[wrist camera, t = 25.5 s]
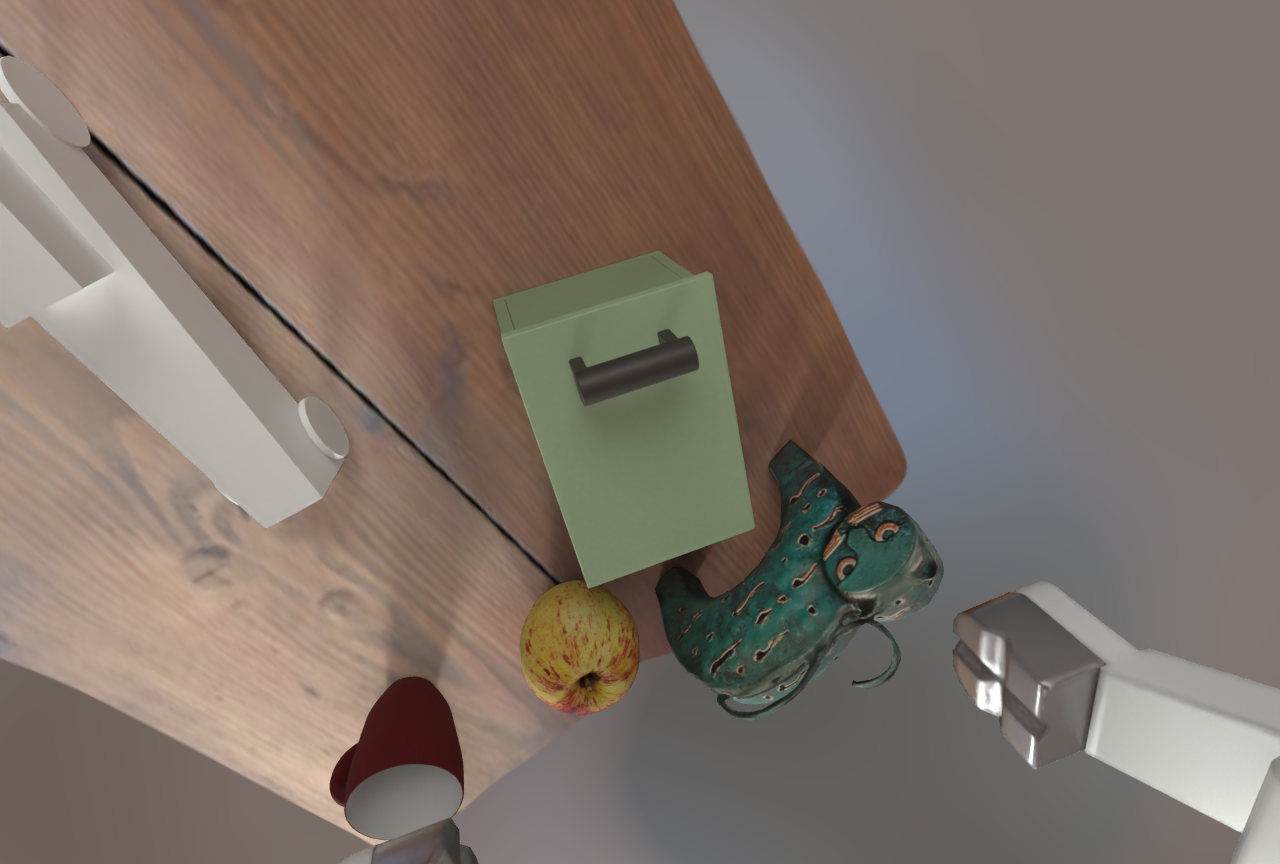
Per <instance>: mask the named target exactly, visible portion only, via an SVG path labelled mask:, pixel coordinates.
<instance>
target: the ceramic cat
mask: <svg viewBox="0 0 1280 864" xmlns="http://www.w3.org/2000/svg"><path fill="white" fill-rule="evenodd" d="M769 468H770V471H771V472H772V474H773V475H774V477H775V478H776V481H777V483H778V486H779V489H780V492H781V524H780V530H779V533H778V535H777V537H776V539H775V541H774V543H773V544H772V546H771V547H770V549H769V550H768V552H767V553H766V555H765V556H764V558H763V559H762V561H761V562H760V563H759V565H758V566H757V567H756V568H755V569H754V570H753V571H752V572H751V573H750V574H749V575H748V576H747V577H746V578H745V579H744V581H742V582H741V583H740V584H739V585H737V586H736V587H734V588H733V589H731V590H730V591H728V592H726V593H724V594H722V595H720V596H718V597H714V598H713V597H710V596H708V594H707V593H706V591H705V589H704V588H703V586H702V583H701V581H700V580H699V579H698V578H697V577H695V576H694V575H692V574H691V573H689V572H688V571H686V570H684V569H682V568H676V567H674V568H672V569H671V570H670V571H668V572H667V573H666V574H665V575H664V576H663V577H662V578H661V580H660V581H659V583H658V584H657V586H656V588H655V590H656V593H657V597H658V601H659V604H660V608H661V614H662V618H663V623H664V628H665V633H666V638H667V640H668V642H669V644H670V645H671V648H672V651H673V653H674V655H675V656H676V658H677V660H678V662H679V663H680V665H681V666H682V667H683V668H684V670H686V672H687V673H688V674H690V675H692V676H694V677H695V678H697V679H699V680H700V681H701V682H702V683H704V684H705V685H707V686H708V687H710V688H711V690H712V691H713V692H715V693H717V694H718V697H717V702H718V703H719V704H720V705H721V706H722V707H723V708H724V709H725V710H726V711H727V712H728V713H730V714H731V715H733V716H735V717H737V718H741V719H744V720H757V719H759V718H762V717H764V716H767V715H769V714H771V713H773V712H774V711H776V710H778V709H779V708H781V707H783V706H784V705H785V704H787V703H788V702H789V701H791V700H792V699H793V698H794V697H795V696H797V695H798V693H800V691H802V689H804V687H805V686H806V685H807V684H808V683H809V682H810V681H812V680H813V679H815V678H816V677H817V676H818V675H820V674H821V673H822V672H823V671H824V670H825V669H826V668H828V666H830V665H831V664H832V663H833V661H834V660H835V659H836V658H837V657H838V656H839V655H840V654H841V652H842V651H843V650H844V649H845V647H846V646H847V645H848V643H849V642H850V641H851V639H852V638H853V637H854V635H855V634H856V633H857V631H858V630H859V628H860V627H861V626H862V625H863V624H865V623H870V624H871V625H873V626H875V627H876V628H878V629H879V630H880V631H882V632H883V633H884V634H885V635H886V636H888V637H889V638H890V640H891V642H892V644H893V647H894V655H893V660H892V662H891V665H890V667H889V668H888V670H887V671H885V672H884V673H883V674H882V675H880V676H878V677H876V678H874V679H872V680H867V681H859V682H856V681H854V680H853V682H852V685H854V686H857V687H859V688H874V687H877V686H879V685H881V684H883V683H885V682H886V681H888V680H889V679H890V678H891V677H892V676H893V675H894V673H895V672H896V670H897V668H898V665H899V663H900V660H901V657H900V650H899V647H898V645H897V643H896V642H895V640H894V638H893V637H892V635H891V634H890V633H889V631H888V630H887V629H886V628H885V627H884V626H883V625H882V624H880V623H879V622H881V621H892V620H898V619H901V618H905V617H908V616H910V615H912V614H914V613H916V612H918V611H919V610H921V609H922V608H923V607H925V606H926V605H927V604H928V603H929V602H930V601H931V599H932V598H933V596H934V595H935V593H936V591H937V590H938V588H939V585H940V582H941V580H942V577H943V571H944V570H943V562H942V560H941V558H940V556H939V554H938V552H937V551H936V549H935V548H934V546H933V544H932V543H931V542H930V540H929V539H928V538H927V536H926V535H925V534H924V532H923V531H922V529H921V528H920V527H919V525H918V524H917V523H916V522H915V521H914V520H913V519H912V518H911V517H910V516H909V515H908V514H907V513H906V512H905V511H904V510H902V509H900V508H899V507H897V506H893V505H890V504H887V503H884V502H879V501H877V502H873V503H869V504H867V505H864V506H863V507H861V505H860V504H859V503H858V501H857V500H856V499H855V497H854V496H853V494H852V493H851V492H850V491H849V490H848V489H847V488H846V487H845V486H844V485H843V484H842V483H841V482H839V481H838V480H837V479H836V478H835V477H834V476H833V475H832V473H830V472H829V471H828V470H827V469H826V468H825V467H824V466H823V465H822V464H821V463H819V462H817V461H816V460H815V459H814V458H812V457H811V456H810V455H809V454H808V453H806V452H805V451H804V450H803V449H802V448H800V447H799V446H798V445H797V444H795V443H794V442H793V441H792V440H790V441H789V442H788V443H787V444H786V445H785V446H784V447H783V448H782V449H781V451H780V452H779V453H778V454H777V455H776V456H775V457H774V458H773V459H772V460H771V462H770V464H769ZM726 699H731V700H732V701H736V702H738V703H744V704H752V705H754V704H763V703H770V702H774V701H775V702H774V703H772V704H771V705H769V706H767V707H766V708H764V709H762V710H759V711H755V712H738V711H735V710H733V709H731V708H730V707H728V706H727V705H726V704H725V701H724V700H726Z"/></svg>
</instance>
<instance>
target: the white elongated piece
mask: <svg viewBox="0 0 1280 864" xmlns="http://www.w3.org/2000/svg"><path fill="white" fill-rule="evenodd" d="M0 88H1V90H2V92H3V93H4V95H5V96H6V97H7V99H8V100H9V101H10V102H11V103H2V102H0V323H1V324H2V325H3V326H5V327H6V328H9V327H11V326H13V325H15V324H17V323H19V322H21V321H22V320H24V319H26V318H28V317H30V316H31V317H32V318H33V319H34V320H35V321H36V322H37V323H38V324H39V325H41V326H42V327H43V328H44V329H45V330H46V331H47V332H48V333H49V334H51V335H52V336H53V337H54V338H55V339H56V340H57V341H58V342H59V343H60V344H62V345H63V346H64V347H65V348H66V349H67V350H68V351H69V352H70V353H71V354H73V355H74V356H75V357H76V358H77V359H78V360H79V361H80V362H81V363H83V364H84V365H85V366H86V367H87V368H88V369H89V370H90V371H91V372H92V373H94V374H95V375H96V376H97V377H98V378H99V379H100V380H101V381H102V382H104V383H105V384H106V385H107V386H108V387H109V388H110V389H111V390H112V391H113V392H115V393H116V394H117V395H118V396H119V397H120V398H121V399H122V400H123V401H124V402H126V403H127V404H128V405H129V406H130V407H131V408H132V409H133V410H134V411H136V412H137V413H138V414H139V415H140V416H141V417H142V418H143V419H144V420H145V421H147V422H148V423H149V424H150V425H151V426H152V427H153V428H154V429H155V430H157V431H158V432H159V433H160V434H161V435H162V436H163V437H164V438H165V439H166V440H168V441H169V442H170V443H171V444H172V445H173V446H174V447H175V448H176V449H177V450H179V451H180V452H181V453H182V454H183V455H184V456H185V457H186V458H187V459H189V460H190V461H191V462H192V463H193V464H194V465H195V466H196V467H197V468H198V469H200V470H201V471H202V472H203V473H204V474H205V475H206V476H207V477H208V478H209V479H211V481H212V482H213V484H214V485H215V486H216V488H217V489H218V490H219V491H220V492H221V493H222V494H223V495H224V496H225V497H226V498H228V499H229V500H230V501H232V502H234V503H235V504H237V505H239V506H240V507H242V508H243V509H244V510H245V511H246V512H247V513H248V514H249V515H250V516H251V517H253V518H254V519H255V520H256V521H257V522H258V523H259V524H260V525H261V526H262V527H264V528H265V529H267V528H269V527H271V526H273V525H274V524H276V523H278V522H280V521H282V520H284V519H285V518H287V517H289V516H291V515H293V514H295V513H296V512H298V511H300V510H302V509H304V508H306V507H307V506H309V505H311V504H313V503H315V502H317V501H318V500H320V499H322V498H323V497H324V495H325V493H326V492H327V490H328V488H329V487H330V485H331V483H332V481H333V480H334V478H335V476H336V474H337V473H338V471H339V469H340V468H341V466H342V464H343V462H344V461H345V459H344V458H343V457H344V456H346V455H347V454H348V452H349V441H348V437H347V435H346V432H345V430H344V428H343V426H342V424H341V423H340V421H339V419H338V418H337V417H336V415H335V414H334V413H333V411H332V410H331V409H330V408H329V407H328V406H327V405H326V404H325V403H324V402H322V401H321V400H320V399H318V398H316V397H314V396H308V397H306V398H304V399H303V400H301V401H300V402H299V405H298V403H297V402H296V401H295V400H294V399H293V398H292V396H291V395H290V394H289V393H288V392H287V390H286V389H285V388H284V387H283V386H282V385H281V383H280V382H279V381H278V380H277V379H276V378H275V376H274V375H273V374H272V373H271V372H270V370H269V369H268V368H267V367H266V366H265V365H264V363H263V362H262V361H261V360H260V359H259V357H258V356H257V355H256V354H255V353H254V352H253V350H252V349H251V348H250V347H249V346H248V344H247V343H246V342H245V341H244V340H243V339H242V337H241V336H240V335H239V334H238V333H237V332H236V330H235V329H234V328H233V327H232V326H231V324H230V323H229V322H228V321H227V320H226V319H225V317H224V316H223V315H222V314H221V313H220V311H219V310H218V309H217V308H216V307H215V306H214V304H213V303H212V302H211V301H210V300H209V299H208V297H207V296H206V295H205V294H204V293H203V291H202V290H201V289H200V288H199V287H198V286H197V284H196V283H195V282H194V281H193V280H192V278H191V277H190V276H189V275H188V274H187V273H186V271H185V270H184V269H183V268H182V267H181V266H180V264H179V263H178V262H177V261H176V260H175V258H174V257H173V256H172V255H171V254H170V253H169V251H168V250H167V249H166V248H165V247H164V245H163V244H162V243H161V242H160V241H159V240H158V238H157V237H156V236H155V235H154V234H153V233H152V231H151V230H150V229H149V228H148V227H147V225H146V224H145V223H144V222H143V221H142V220H141V218H140V217H139V216H138V215H137V214H136V212H135V211H134V210H133V209H132V208H131V207H130V205H129V204H128V203H127V202H126V201H125V200H124V198H123V197H122V196H121V195H120V194H119V192H118V191H117V190H116V189H115V188H114V187H113V185H112V184H111V183H110V182H109V181H108V179H107V178H106V177H105V176H104V175H103V174H102V172H101V171H100V170H99V169H98V168H97V166H96V165H95V164H94V163H93V162H92V161H91V159H90V158H89V157H88V156H87V155H86V154H85V152H84V151H83V150H82V148H84V147H86V146H87V145H89V144H90V134H89V131H88V128H87V126H86V124H85V123H84V121H83V119H82V117H81V116H80V114H79V113H78V112H77V110H76V109H75V108H74V106H73V105H72V104H71V102H70V101H69V100H68V99H67V98H66V97H65V96H64V95H63V93H62V92H61V91H60V90H59V89H58V88H57V87H56V86H55V85H54V84H53V83H51V82H50V81H49V80H48V79H47V78H46V77H45V76H44V75H42V74H41V73H40V72H38V71H37V70H36V69H34V68H33V67H32V66H30V65H29V64H27V63H25V62H23V61H22V60H20V59H18V58H14V57H11V56H6V57H2V58H0Z"/></svg>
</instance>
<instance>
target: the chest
mask: <svg viewBox="0 0 1280 864" xmlns="http://www.w3.org/2000/svg"><path fill="white" fill-rule="evenodd" d="M691 276H694V275H693V274H692V273H690V272H689V271H687V270H686V269H685V268H683V267H682V266H680V265H679V264H677V263H676V262H674V261H673V260H671V259H670V258H668V257H667V256H665V255H664V254H662V253H661V252H660V251H655V252H651V253H648V254H645V255H641V256H638V257H634V258H631V259H628V260H624V261H621V262H618V263H614V264H611V265H608V266H604V267H601V268H598V269H594V270H591V271H587V272H584V273H581V274H577V275H574V276H571V277H567V278H564V279H561V280H557V281H554V282H550V283H547V284H544V285H540V286H537V287H534V288H530V289H527V290H524V291H520V292H517V293H514V294H510V295H507V296H503V297H500V298H497V299H493V300H492V302H493V306H494V309H495V313H496V317H497V320H498V324H499V328H500V331H501V334H504V333H507V332H510V331H514V330H517V329H520V328H523V327H527V326H530V325H533V324H537V323H540V322H543V321H546V320H550V319H553V318H556V317H560V316H563V315H566V314H569V313H573V312H576V311H579V310H582V309H586V308H589V307H592V306H596V305H599V304H602V303H605V302H609V301H612V300H615V299H618V298H622V297H625V296H628V295H632V294H635V293H638V292H641V291H645V290H648V289H651V288H655V287H658V286H661V285H664V284H668V283H671V282H674V281H677V280H681V279H684V278H687V277H691Z"/></svg>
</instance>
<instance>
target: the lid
mask: <svg viewBox="0 0 1280 864" xmlns="http://www.w3.org/2000/svg"><path fill="white" fill-rule="evenodd" d="M501 339H502V342H503V345H504V348H505V351H506V354H507V357H508V359H509V362H510V365H511V368H512V371H513V374H514V377H515V380H516V382H517V385H518V388H519V391H520V394H521V397H522V400H523V403H524V405H525V408H526V411H527V414H528V417H529V420H530V423H531V426H532V429H533V431H534V434H535V437H536V440H537V443H538V446H539V449H540V452H541V454H542V457H543V460H544V463H545V466H546V469H547V472H548V475H549V477H550V480H551V483H552V486H553V489H554V492H555V495H556V498H557V500H558V503H559V506H560V509H561V512H562V515H563V518H564V521H565V524H566V526H567V529H568V532H569V535H570V538H571V541H572V544H573V547H574V549H575V552H576V555H577V558H578V561H579V564H580V567H581V570H582V572H583V575H584V578H585V581H586V584H587V587H588V588H592V587H595V586H597V585H600V584H603V583H606V582H608V581H611V580H614V579H617V578H619V577H622V576H625V575H628V574H630V573H633V572H636V571H639V570H641V569H644V568H647V567H650V566H653V565H655V564H658V563H661V562H664V561H666V560H669V559H672V558H675V557H677V556H680V555H683V554H686V553H688V552H691V551H694V550H697V549H699V548H702V547H705V546H708V545H710V544H713V543H716V542H719V541H721V540H724V539H727V538H730V537H732V536H735V535H738V534H741V533H743V532H746V531H749V530H752V529H754V528H755V523H754V517H753V511H752V505H751V499H750V494H749V488H748V482H747V476H746V470H745V464H744V458H743V452H742V446H741V440H740V434H739V428H738V423H737V417H736V411H735V405H734V399H733V393H732V387H731V381H730V375H729V369H728V363H727V357H726V352H725V346H724V340H723V334H722V328H721V322H720V316H719V310H718V304H717V298H716V292H715V287H714V281H713V275H712V274H711V273H709V272H704V273H700V274H697V275H694V276H691V277H687V278H684V279H681V280H677V281H674V282H671V283H668V284H664V285H661V286H658V287H655V288H651V289H648V290H645V291H641V292H638V293H635V294H632V295H628V296H625V297H622V298H618V299H615V300H612V301H609V302H605V303H602V304H599V305H596V306H592V307H589V308H586V309H582V310H579V311H576V312H573V313H569V314H566V315H563V316H560V317H556V318H553V319H550V320H546V321H543V322H540V323H537V324H533V325H530V326H527V327H523V328H520V329H517V330H514V331H510V332H507V333H504V334H501Z"/></svg>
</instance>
